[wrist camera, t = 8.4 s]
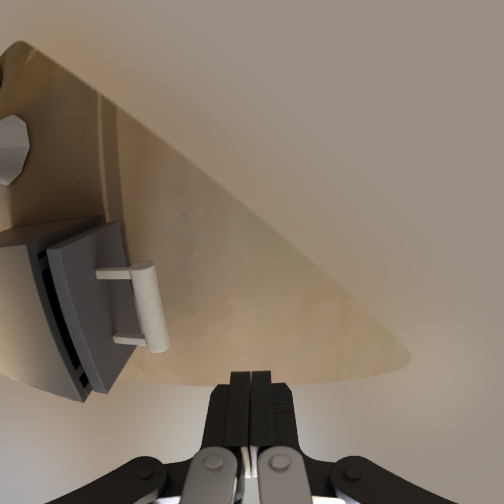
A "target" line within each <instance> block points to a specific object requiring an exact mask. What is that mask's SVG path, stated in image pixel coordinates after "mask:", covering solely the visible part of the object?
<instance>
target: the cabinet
mask: <svg viewBox="0 0 504 504" xmlns="http://www.w3.org/2000/svg"><path fill="white" fill-rule="evenodd" d="M103 224H105V216H104V214H102V215H94V216H86V217H78V218H71V219H64V220H57V221H50V222H44V223H38V224H32V225H26V226H20V227H14V228H10V229H8V230H4V231H2V232H0V374H3V375H5V376H7V377H9V378H12V379H15V380H17V381H19V382H22V383H24V384H27V385H29V386H32V387H35V388H37V389H40V390H43V391H46V392H49V393H52V394H55V395H58V396H61V397H64V398H67V399H71V400H74V401H78V402H81V403H84V402H85V400H86V399H87V397H88V395H89V394H90V392H91V391H92V390H93V388H92V386H91V384H90V382H89V380H88V377H87V375H86V373H85V371H84V372H83V373H82V375H81V376H80V377H78V375H77V373H76V371H75V369H74V366H73V364H72V362H71V360H70V357H69V355H68V352H67V350H66V348H65V345H64V343H63V340H62V337H61V335H60V332H59V329H58V326H57V324H56V321H55V318H54V315H53V312H52V309H51V305H50V302H49V299H48V296H47V292H46V289H45V285H44V281H43V277H42V273H41V269H40V265H39V261H38V256H37V253H39V252H41V251H43V250H45V249H47V248H50V247H52V246H54V245H56V244H58V243H61V242H63V241H65V240H67V239H70V238H72V237H74V236H76V235H79V234H81V233H84V232H86V231H88V230H91V229H93V228H96V227H98V226H100V225H103Z"/></svg>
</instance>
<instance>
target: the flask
mask: <svg viewBox="0 0 504 504" xmlns="http://www.w3.org/2000/svg"><path fill="white" fill-rule="evenodd" d="M29 148H30V144H29V139H28V134H27V128H26V123H25V122H24V121H23V120H21V119H20V118H18V117H17V116H15V115H14V114H13V115H10V116H8V117H5V118H3V119H1V120H0V183H1V184H4V185H7V186H8V185H9V184H10V183H11V182H12V181H13V180H14V179H15V178H16V177H17V176H18V175H19V174H20V173H21V171H22V168H23V165H24V162H25V159H26V156H27V153H28V150H29Z"/></svg>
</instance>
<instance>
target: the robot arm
mask: <svg viewBox="0 0 504 504" xmlns="http://www.w3.org/2000/svg"><path fill="white" fill-rule="evenodd" d="M1 77H2V71H1V66H0V85H1ZM252 468H253V477H254V478H256V477H257V479H258V489H259V499H260V504H457V503H455V502H452V501H450V500H448V499H445V498H443V497H440V496H438V495H436V494H434V493H431V492H429V491H427V490H425V489H423V488H421V487H418V486H416V485H414V484H412V483H410V482H408V481H406V480H404V479H403V478H401V477H399V476H397V475H395V474H393V473H391V472H389V471H387V470H386V469H383V468H382V467H380V466H378V465H376V464H375V463H373V462H371V461H370V460H368V459H366V458H364V457H361V456H348V457H345V458H342V459H340V460H338V461H337V462H336V463H334V462H325V461H318V460H314V459H312V458H310V457H308V456H306V455H305V454H304V453H303V452H302V450H301V449H300V447H299V442H298V435H297V426H296V419H295V413H294V405H293V397H292V391H291V390H290V389H289V387H288V386H287V385H286V383H271V371H252V379H251V372H250V371H243V372H231V377H230V385H229V384H218V385H217V386H216V388H215V389H214V390H213V391H212V393H211V395H210V401H209V406H208V412H207V417H206V422H205V428H204V433H203V439H202V445H201V448H200V450H199V451H198V452H197V453H196V454H195V455H194V457H192V458H190V459H188V460H186V461H182V462H176V463H169V464H162V462H160V461H159V460H158V459H156V458H153V457H149V456H141V457H137V458H135V459H132V460H131V461H129V462H127V463H126V464H124V465H122V466H120V467H119V468H117V469H116V470H113V471H112V472H110V473H108V474H106V475H104V476H102V477H100V478H99V479H97V480H95V481H93V482H91V483H89V484H87V485H85V486H83V487H81V488H79V489H77V490H75V491H72V492H70V493H68V494H66V495H64V496H62V497H60V498H57V499H55V500H52V501H50V502H48V503H45V504H243V498H244V491H245V478H252Z"/></svg>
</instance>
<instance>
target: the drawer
mask: <svg viewBox="0 0 504 504" xmlns="http://www.w3.org/2000/svg"><path fill="white" fill-rule="evenodd" d="M37 256H38V261H39V265H40V269H41V273H42V277H43V281H44V285H45V289H46V292H47V296H48V299H49V302H50V305H51V309H52V312H53V315H54V318H55V321H56V324H57V326H58V329H59V332H60V335H61V337H62V340H63V343H64V345H65V348H66V350H67V352H68V355H69V357H70V360H71V362H72V364H73V366H74V369H75V371H76V373H77V375H78V377H80V376H81V375H82V373H83V372H84V371H85V373H86V375H87V377H88V380H89V382H90V384H91V386H92V388H93V390H94V391H95V392H99V393H104V394H108V392H109V390H110V389H111V387H112V385H113V384H114V382H115V380H116V379H117V377H118V376H119V374H120V372H121V371H122V369H123V367H124V366H125V364H126V363H127V361H128V359H129V358H130V356H131V355H132V353H133V351H134V350H135V348H136V347H137V345H144V346H146V345H147V346H148V349H149V350H150V351H151V352H154V353H160V352H164V351H166V350H167V349H168V348H169V347H170V342H169V338H168V333H167V329H166V324H165V319H164V315H163V310H162V304H161V299H160V294H159V288H158V283H157V277H156V271H155V264H154V263H153V262H148V261H146V262H139V263H135V264H133V265H131V266H130V267H127V265H126V259H125V253H124V247H123V241H122V234H121V227H120V222H119V221H118V222H108V223H105V224H103V225H100V226H98V227H96V228H93V229H91V230H88V231H86V232H84V233H81V234H79V235H76V236H74V237H72V238H70V239H67V240H65V241H63V242H61V243H58V244H56V245H54V246H52V247H50V248H47V249H45V250H43V251H41V252H39V253H37ZM131 278H132V283H133V288H134V293H135V298H136V302H137V307H138V311H139V315H140V319H141V323H142V327H143V331H144V334H142V332H141V329H140V325H139V321H138V317H137V312H136V308H135V304H134V299H133V295H132V290H131V285H130V281H129V279H131Z"/></svg>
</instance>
